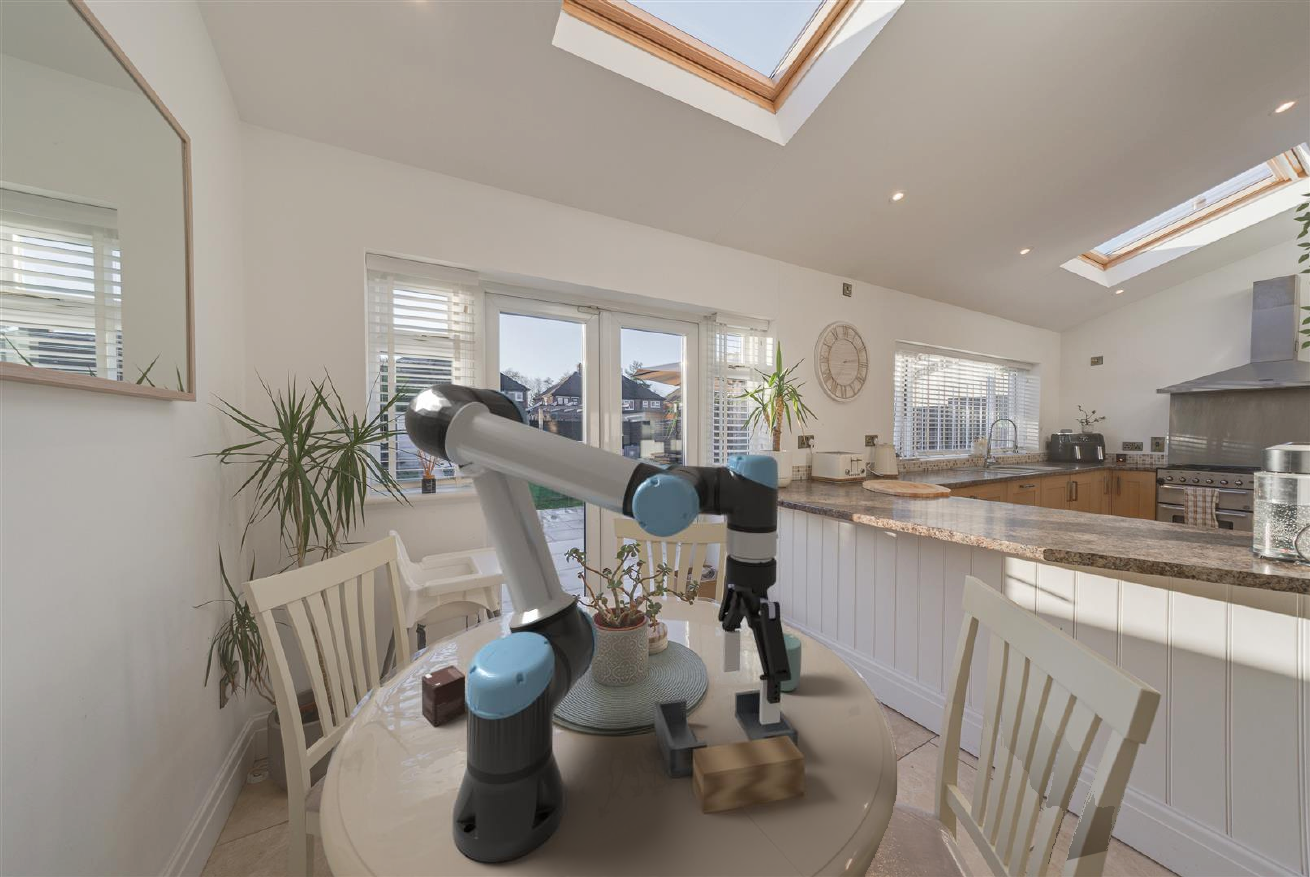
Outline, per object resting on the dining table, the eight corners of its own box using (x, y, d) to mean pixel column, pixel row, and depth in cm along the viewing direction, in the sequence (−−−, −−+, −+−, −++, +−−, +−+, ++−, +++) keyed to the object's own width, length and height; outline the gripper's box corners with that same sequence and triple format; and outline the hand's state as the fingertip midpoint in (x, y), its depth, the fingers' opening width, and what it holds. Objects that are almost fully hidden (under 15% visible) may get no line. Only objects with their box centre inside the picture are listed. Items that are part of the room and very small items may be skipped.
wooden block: (703, 815, 64) (703, 774, 64) (692, 788, 69) (693, 749, 69) (803, 796, 68) (804, 757, 67) (787, 772, 72) (787, 735, 72)
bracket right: (763, 712, 87) (764, 689, 87) (797, 758, 75) (797, 731, 75) (734, 716, 86) (735, 692, 86) (764, 763, 74) (764, 736, 74)
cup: (803, 698, 92) (803, 650, 92) (764, 694, 94) (764, 646, 93) (798, 678, 100) (799, 634, 100) (762, 674, 101) (763, 630, 101)
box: (466, 713, 86) (466, 675, 86) (433, 728, 82) (433, 688, 82) (452, 700, 90) (452, 664, 90) (421, 713, 86) (421, 676, 86)
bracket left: (670, 778, 71) (670, 750, 70) (653, 726, 83) (654, 702, 83) (706, 772, 72) (707, 744, 72) (685, 722, 84) (685, 698, 84)
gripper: (820, 581, 57) (817, 746, 57) (740, 536, 81) (738, 651, 82) (766, 585, 55) (763, 754, 56) (701, 537, 80) (699, 655, 80)
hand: (748, 693), depth 69 cm, fingers open, 13 cm apart
